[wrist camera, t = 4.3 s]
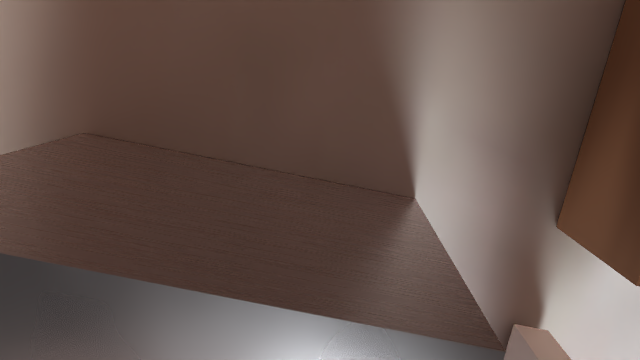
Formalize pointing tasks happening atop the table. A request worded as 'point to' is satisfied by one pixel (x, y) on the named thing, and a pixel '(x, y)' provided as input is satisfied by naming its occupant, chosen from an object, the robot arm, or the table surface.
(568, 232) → the block
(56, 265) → the grey hollow square block
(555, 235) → the table surface
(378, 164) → the table surface
